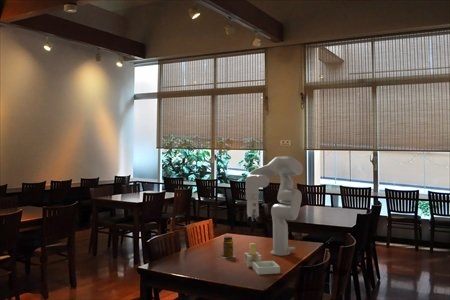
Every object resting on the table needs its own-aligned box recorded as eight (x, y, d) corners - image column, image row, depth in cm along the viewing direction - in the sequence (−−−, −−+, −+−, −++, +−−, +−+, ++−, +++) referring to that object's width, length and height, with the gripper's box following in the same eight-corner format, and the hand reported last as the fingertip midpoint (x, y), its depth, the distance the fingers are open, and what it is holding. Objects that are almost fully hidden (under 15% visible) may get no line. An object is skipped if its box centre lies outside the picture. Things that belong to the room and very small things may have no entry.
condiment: (235, 256, 247) (235, 237, 247) (224, 258, 242) (224, 238, 242) (229, 254, 253) (229, 235, 253) (218, 256, 248) (217, 237, 248)
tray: (273, 267, 223) (273, 260, 223) (280, 273, 211) (279, 266, 211) (252, 268, 220) (252, 261, 221) (258, 274, 209) (258, 267, 209)
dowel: (255, 263, 230) (254, 243, 230) (256, 265, 226) (256, 244, 226) (249, 264, 229) (248, 243, 229) (250, 265, 226) (250, 244, 226)
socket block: (257, 262, 232) (257, 252, 233) (261, 266, 225) (261, 255, 225) (244, 263, 231) (244, 252, 231) (247, 267, 223) (247, 256, 223)
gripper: (262, 198, 221) (262, 229, 220) (254, 195, 238) (254, 224, 237) (249, 198, 219) (249, 229, 219) (242, 195, 236) (242, 224, 236)
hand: (252, 226), depth 228 cm, fingers open, 9 cm apart
